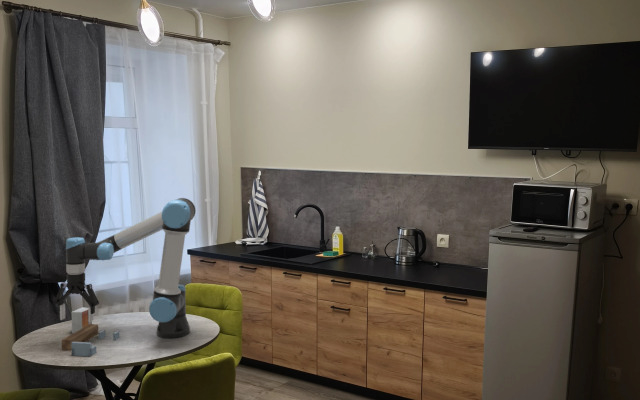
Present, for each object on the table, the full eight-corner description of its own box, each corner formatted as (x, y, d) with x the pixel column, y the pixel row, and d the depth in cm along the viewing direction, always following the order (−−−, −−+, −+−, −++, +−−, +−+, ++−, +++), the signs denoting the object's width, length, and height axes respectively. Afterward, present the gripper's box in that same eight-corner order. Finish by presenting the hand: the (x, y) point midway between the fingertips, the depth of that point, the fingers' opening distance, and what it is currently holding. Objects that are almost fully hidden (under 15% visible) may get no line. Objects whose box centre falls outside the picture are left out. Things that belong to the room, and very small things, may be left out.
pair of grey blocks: (119, 337, 257) (119, 331, 257) (115, 340, 254) (115, 333, 253) (102, 336, 258) (102, 330, 258) (98, 339, 255) (98, 332, 255)
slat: (98, 334, 262) (98, 324, 261) (70, 351, 240) (70, 340, 240) (90, 334, 263) (90, 324, 262) (62, 350, 241) (61, 339, 240)
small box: (82, 334, 262) (81, 312, 261) (71, 333, 263) (70, 311, 262) (92, 329, 270) (91, 307, 269) (82, 328, 271) (81, 307, 270)
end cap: (96, 352, 238) (96, 339, 237) (90, 356, 233) (89, 343, 233) (78, 351, 239) (77, 338, 239) (71, 355, 235) (71, 342, 234)
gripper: (106, 272, 249) (107, 319, 250) (55, 269, 252) (56, 315, 254) (97, 276, 241) (98, 324, 243) (44, 273, 245) (45, 320, 247)
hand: (76, 320), depth 248 cm, fingers open, 13 cm apart
